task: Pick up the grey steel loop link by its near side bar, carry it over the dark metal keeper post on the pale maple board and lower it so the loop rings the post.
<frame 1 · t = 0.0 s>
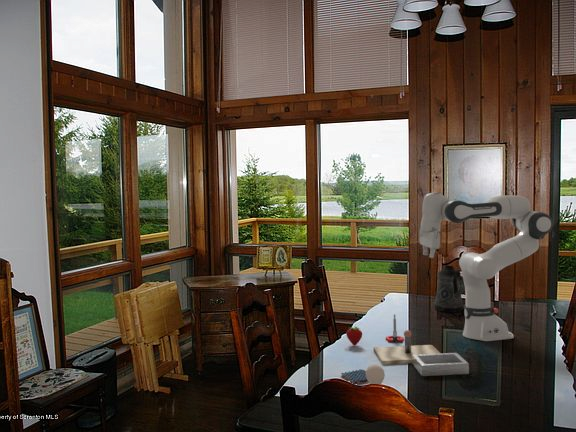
hand: (428, 256, 241), 39 cm above the table, tool pointing down, fingers open, 8 cm apart
woven mat: (358, 380, 194), on the table
beer stein: (451, 309, 297), on the table
strawberry: (354, 345, 235), on the table
tow hook: (394, 340, 242), on the table
light bulb: (375, 396, 177), on the table
steel link: (439, 369, 201), on the table
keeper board: (408, 356, 218), on the table
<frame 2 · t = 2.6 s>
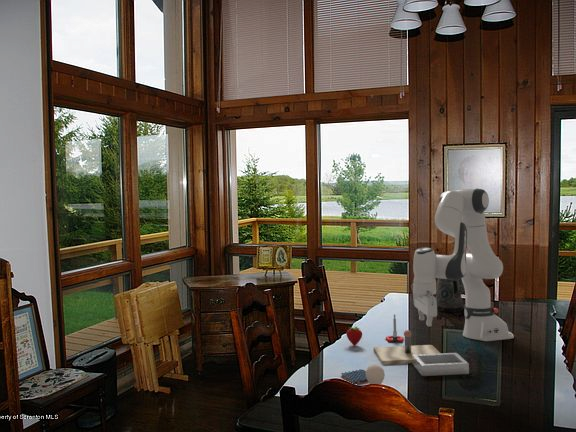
hand: (425, 323, 206), 17 cm above the table, tool pointing down, fingers open, 8 cm apart
nothing on the table moved.
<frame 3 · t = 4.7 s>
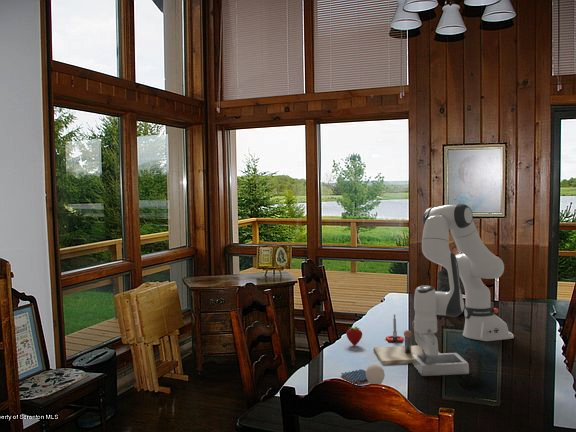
hand: (426, 360, 207), 2 cm above the table, tool pointing down, fingers closed on steel link, 2 cm apart
steel link: (439, 369, 201), on the table, touching gripper
everything else where it was.
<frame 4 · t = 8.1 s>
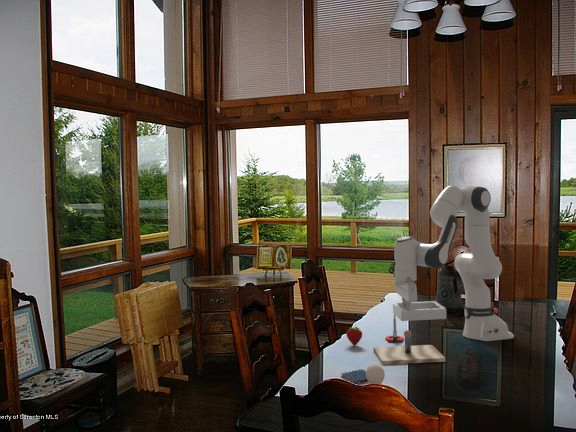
hand: (406, 308, 214), 21 cm above the table, tool pointing down, fingers closed on steel link
steel link: (419, 315, 209), point 19 cm above the table, touching gripper
everything else where it was.
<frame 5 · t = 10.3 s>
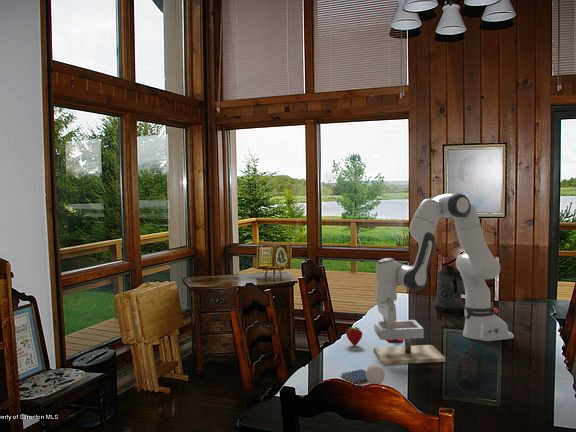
hand: (387, 327, 224), 11 cm above the table, tool pointing down, fingers closed on steel link
steel link: (398, 334, 219), point 9 cm above the table, touching gripper
everything else where it was.
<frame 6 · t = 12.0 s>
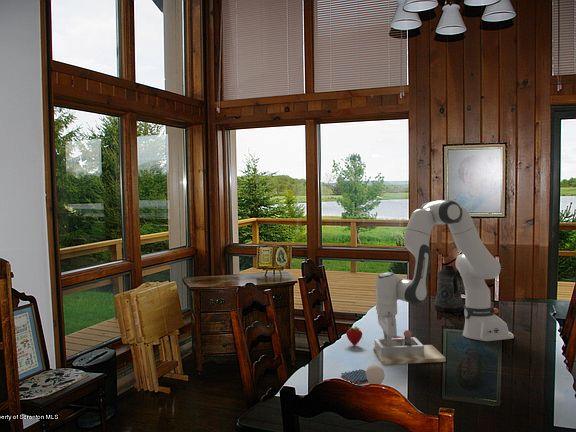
hand: (387, 341, 225), 5 cm above the table, tool pointing down, fingers open, 4 cm apart
steel link: (398, 351, 220), point 1 cm above the table, touching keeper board
everything else where it was.
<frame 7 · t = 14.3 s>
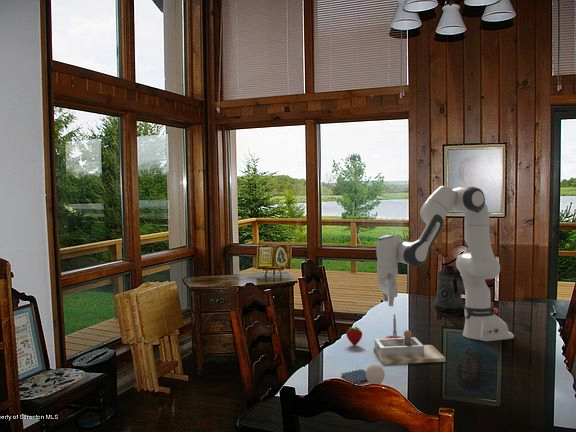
hand: (388, 303, 224), 21 cm above the table, tool pointing down, fingers open, 8 cm apart
nothing on the table moved.
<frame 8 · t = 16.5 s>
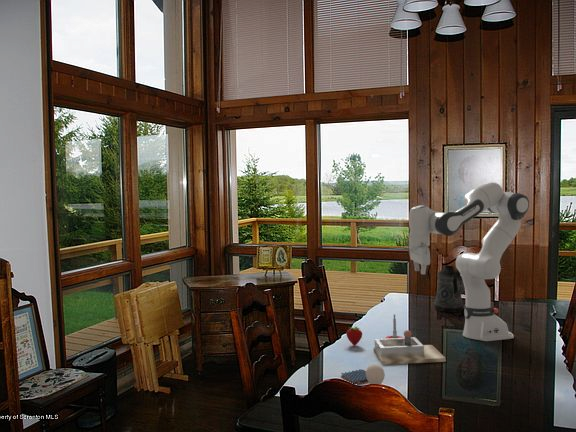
hand: (420, 272, 231), 33 cm above the table, tool pointing down, fingers open, 8 cm apart
nothing on the table moved.
at the end: steel link inside the target area on the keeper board (4.0 cm from its centre), point 1.5 cm above the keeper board's base; the gripper is holding nothing; steel link touching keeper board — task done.
